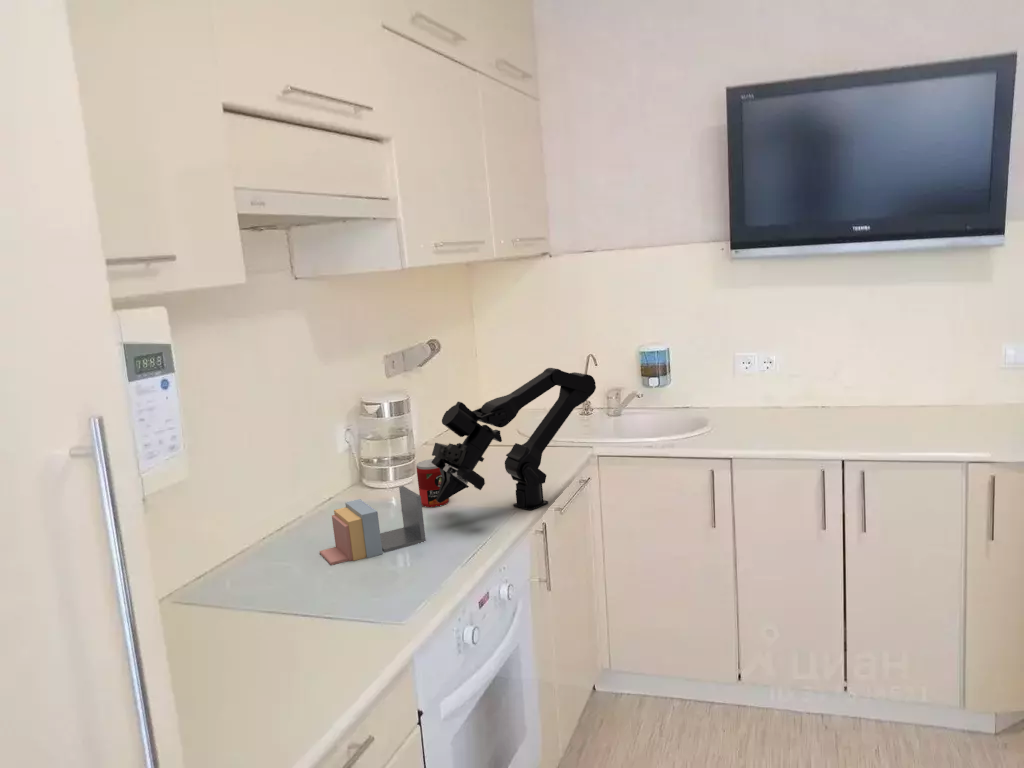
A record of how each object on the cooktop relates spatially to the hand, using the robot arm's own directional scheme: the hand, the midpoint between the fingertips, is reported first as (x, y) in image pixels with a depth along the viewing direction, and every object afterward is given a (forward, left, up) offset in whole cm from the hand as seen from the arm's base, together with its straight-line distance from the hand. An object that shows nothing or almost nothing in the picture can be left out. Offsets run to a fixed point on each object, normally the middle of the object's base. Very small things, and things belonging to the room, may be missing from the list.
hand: (438, 501), depth 197 cm
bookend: (+11, -3, -7) cm, 13 cm away
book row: (+22, -6, -7) cm, 24 cm away
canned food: (-12, -17, -7) cm, 22 cm away
